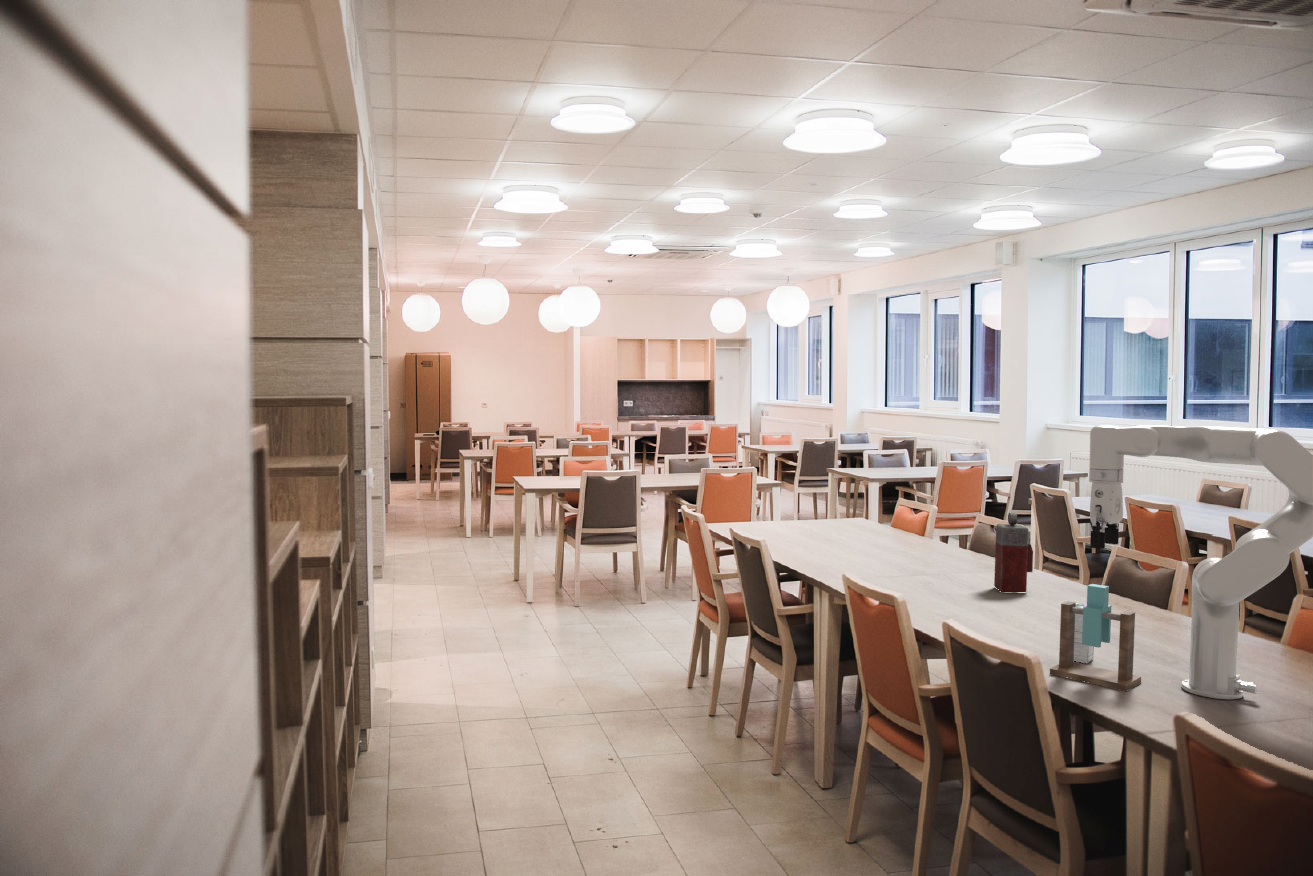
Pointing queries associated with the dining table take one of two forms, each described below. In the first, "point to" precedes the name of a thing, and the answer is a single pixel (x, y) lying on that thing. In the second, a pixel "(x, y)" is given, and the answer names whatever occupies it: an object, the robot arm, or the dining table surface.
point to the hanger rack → (1089, 673)
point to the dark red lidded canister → (1012, 556)
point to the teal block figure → (1096, 616)
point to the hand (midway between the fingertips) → (1104, 546)
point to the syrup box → (1081, 651)
